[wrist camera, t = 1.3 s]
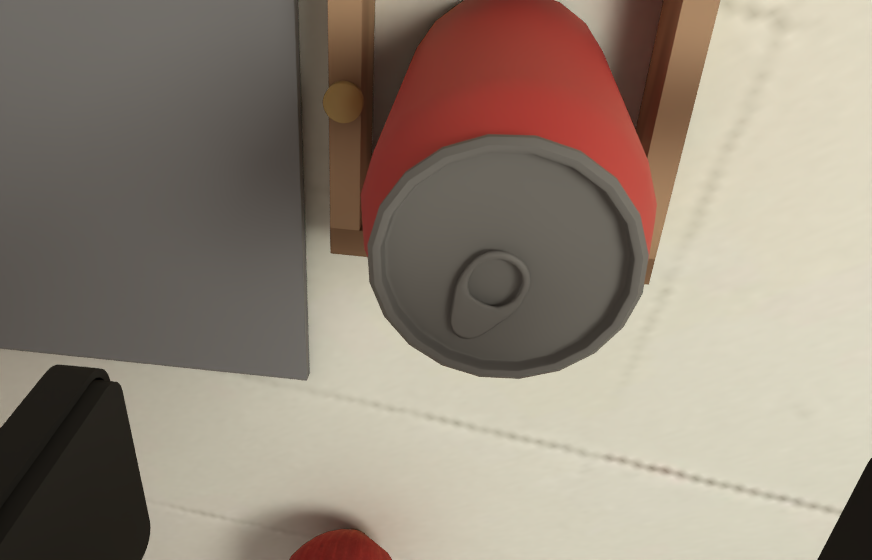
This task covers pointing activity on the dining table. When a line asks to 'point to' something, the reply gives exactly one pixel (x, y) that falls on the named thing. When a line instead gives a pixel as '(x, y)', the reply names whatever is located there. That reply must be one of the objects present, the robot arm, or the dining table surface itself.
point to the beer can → (508, 194)
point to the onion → (341, 547)
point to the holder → (656, 128)
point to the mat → (154, 183)
